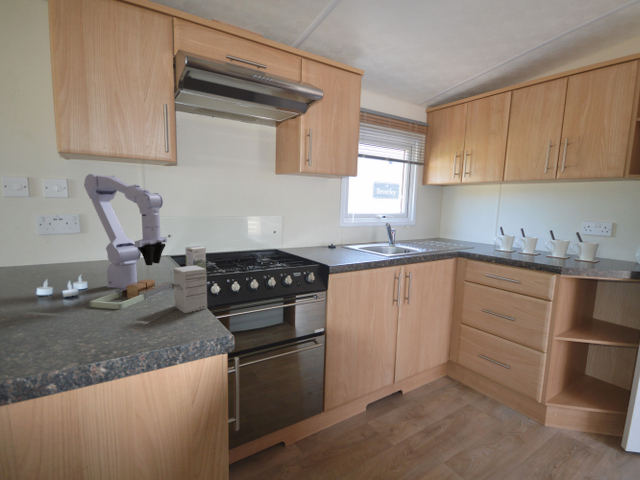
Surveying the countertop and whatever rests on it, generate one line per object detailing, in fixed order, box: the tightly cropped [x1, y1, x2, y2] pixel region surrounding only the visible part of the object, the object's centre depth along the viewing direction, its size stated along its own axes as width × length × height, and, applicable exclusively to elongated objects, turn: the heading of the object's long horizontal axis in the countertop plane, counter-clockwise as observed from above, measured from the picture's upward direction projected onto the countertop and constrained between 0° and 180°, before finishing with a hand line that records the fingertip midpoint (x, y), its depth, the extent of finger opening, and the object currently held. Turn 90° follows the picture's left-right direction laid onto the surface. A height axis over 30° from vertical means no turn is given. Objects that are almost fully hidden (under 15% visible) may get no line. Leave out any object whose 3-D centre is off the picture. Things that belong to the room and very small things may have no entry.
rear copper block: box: [137, 278, 156, 289], centre depth 113 cm, size 4×4×4 cm
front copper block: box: [127, 281, 146, 297], centre depth 109 cm, size 4×4×4 cm
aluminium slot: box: [114, 281, 174, 300], centre depth 113 cm, size 12×14×3 cm
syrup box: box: [185, 245, 207, 270], centre depth 130 cm, size 6×6×14 cm
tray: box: [88, 292, 146, 310], centre depth 101 cm, size 11×11×2 cm
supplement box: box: [173, 265, 208, 314], centre depth 98 cm, size 7×7×13 cm
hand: (152, 264), depth 116 cm, fingers open, 3 cm apart
